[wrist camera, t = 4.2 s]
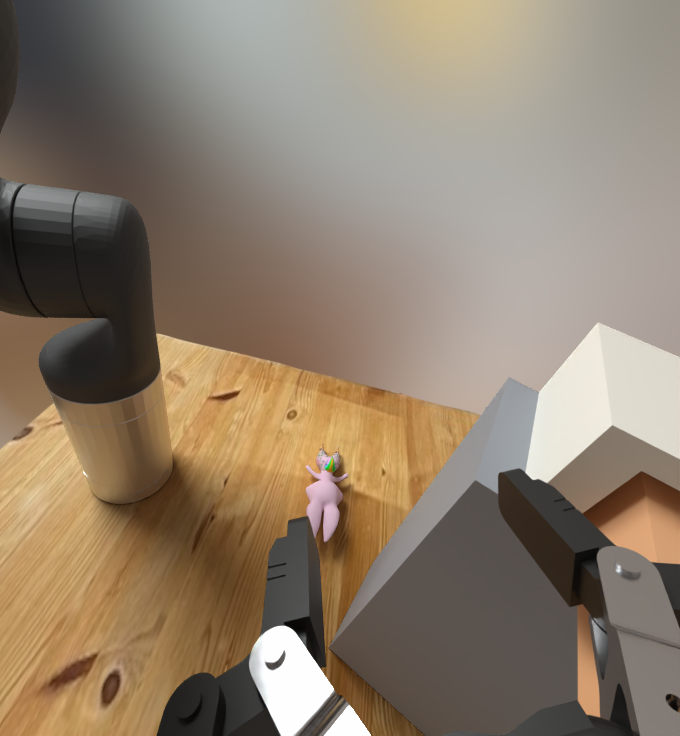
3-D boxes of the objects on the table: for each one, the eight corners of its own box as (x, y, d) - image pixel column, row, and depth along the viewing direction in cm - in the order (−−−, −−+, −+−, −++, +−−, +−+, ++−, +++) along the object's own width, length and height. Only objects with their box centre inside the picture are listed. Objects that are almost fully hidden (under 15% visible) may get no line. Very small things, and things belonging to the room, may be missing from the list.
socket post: (328, 647, 34) (550, 393, 11) (373, 562, 41) (560, 306, 19) (435, 745, 30) (1058, 651, 8) (463, 632, 38) (826, 420, 15)
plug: (578, 834, 8) (716, 884, 6) (576, 361, 23) (613, 321, 21) (772, 986, 7) (1036, 1123, 5) (637, 389, 22) (684, 350, 20)
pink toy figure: (307, 455, 53) (290, 544, 40) (314, 426, 50) (299, 512, 37) (345, 463, 53) (341, 554, 40) (355, 435, 50) (354, 523, 37)
